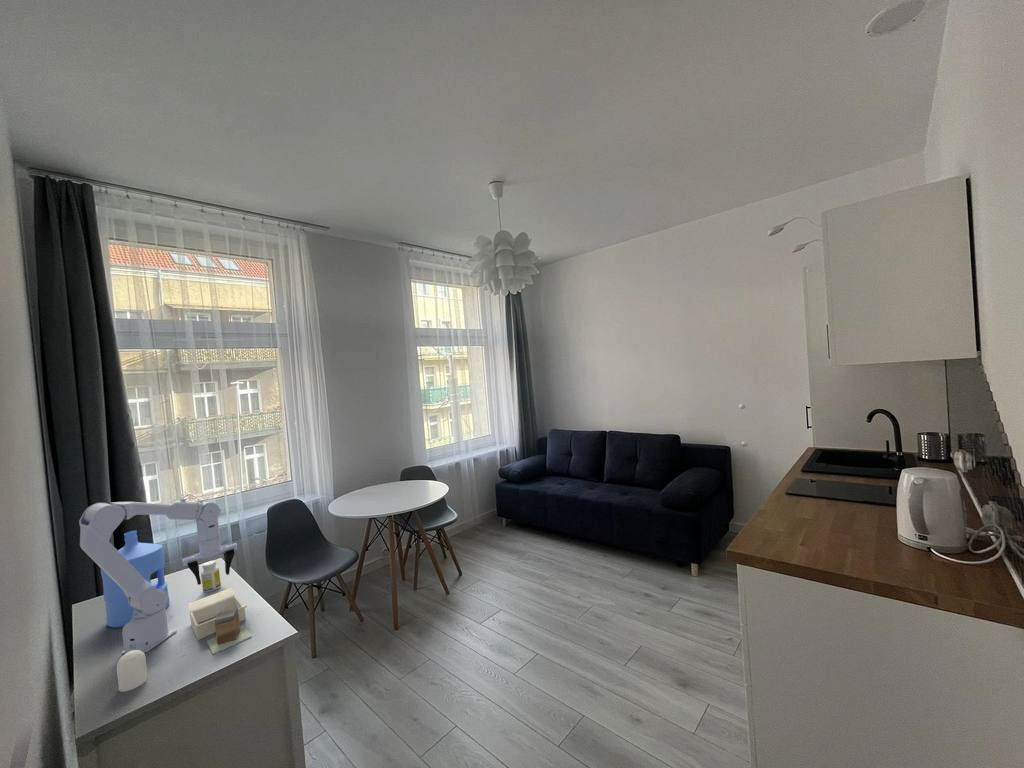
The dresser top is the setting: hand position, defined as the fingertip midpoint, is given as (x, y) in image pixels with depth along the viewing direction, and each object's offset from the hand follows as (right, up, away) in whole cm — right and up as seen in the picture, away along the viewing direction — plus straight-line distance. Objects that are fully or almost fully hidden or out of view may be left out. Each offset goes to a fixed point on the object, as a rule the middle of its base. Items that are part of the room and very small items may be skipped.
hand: (213, 578), depth 134 cm
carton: (+7, -10, -8) cm, 15 cm away
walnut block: (+18, -8, -18) cm, 26 cm away
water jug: (-27, -13, +2) cm, 30 cm away
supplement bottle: (-12, -12, +16) cm, 23 cm away
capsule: (+4, -11, -33) cm, 35 cm away
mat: (+18, -9, -18) cm, 27 cm away
